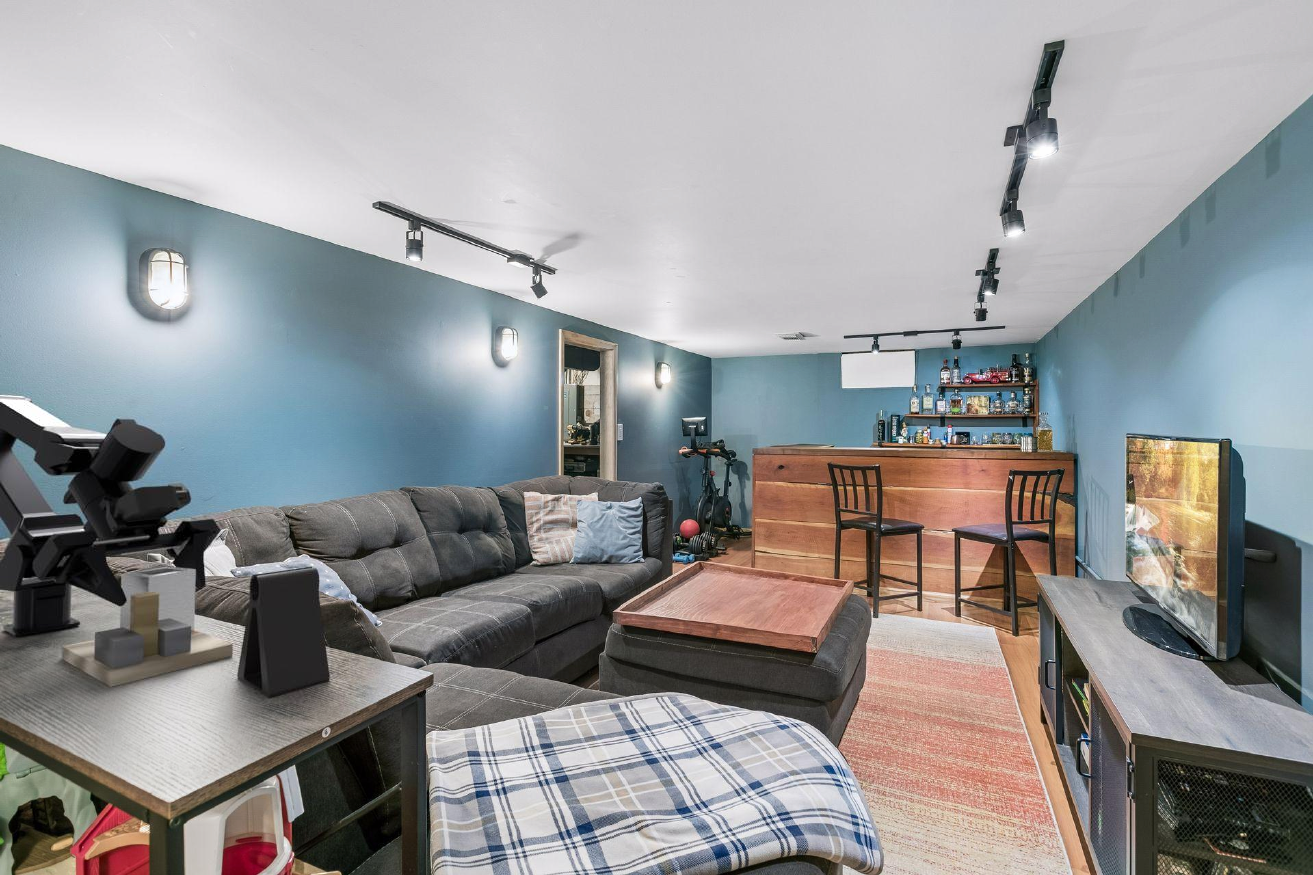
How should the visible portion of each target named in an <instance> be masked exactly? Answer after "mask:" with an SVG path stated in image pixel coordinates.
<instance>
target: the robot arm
mask: <svg viewBox="0 0 1313 875" xmlns="http://www.w3.org/2000/svg"><path fill="white" fill-rule="evenodd" d="M17 440H18V441H20V442H21V443H23V444H25V445H26V446H28V447H30V448H31V449H33V450H34V451H35V453H34V458H33V462H35V463H36V464H37V465H38V466H39V467H40V468H41V469H42V470H43V471H44V472H45V473H46V474H47V475H48V476H51V477H56V476H57V477H58V476H63V477H64V476H73V478H72V479H71V481H70V482H69V484H68V485H67V487H68V490H66V492H65V493H64V495H63V498H62V502H63V504H64V505H74V504H77V505H78V507H79V508H80V510H81V512H82V514H83V516H84V518H85V520H86V523H84V520H82V518H81V516H79V514H77V513H74V512H73V513H62V514H56V513H55V512H54V510H53V509H52V507H51V506H50V504H49V503H48V502H47V500H46V499H45V497H44V496H43V494H42V493H41V490H40V489H39V488H38V487H37V485H36V484H35V483H34V481H33V479H32V478H31V476H30V475H29V474H28V472H27V471H26V469H25V467H24V466H23V464H22V463H21V461H20V460H19V459H18V458H17V456H16V455H15V452H14V451H13V448H14V445H15V443H16V441H17ZM165 446H166V441H165V439H164V437H163V436H162V435H161V434H160V433H159V434H158V433H157V431H154V430H153V429H151V428H149V427H146V426H143V425H141V424H138V423H137V422H136V421H135V419H134V418H133V419H131V418H116V419H115V420H114V422H113V424H112V425H111V428H110V429H109V431H108V432H107V434H106V433H103V432H99V431H95V430H90V429H84V428H83V429H82V428H76V427H74V426H71V425H69V424H67V423H66V422H64V421H63V420H61V419H59V418H57V417H56V416H55V415H52V414H50V413H49V412H47V411H46V410H44V409H42V408H40V407H39V406H38V405H35V404H34V403H33V401H32V400H31V399H30V398H29V397H25V396H23V395H14V394H1V393H0V519H1V520H2V522H3V524H4V525H5V527H6V528H7V530H8V531H9V533H10V537H9V539H8V542H7V543H6V544H7V545H6V546H5V549H4V552H3V554H4V555H3V557H2V559H1V560H0V591H6V592H7V591H8V592H13V604H12V605H13V607H12V608H13V610H12V624H6V625H3V628H2V629H3V630H4V631H5V632H7V633H9V634H10V635H13V636H14V637H23V636H28V635H32V634H38V633H43V632H44V633H45V632H49V631H54V630H60V629H66V628H71V627H77V626H78V627H79V626H80V625H81V621H79V620H77V619H75V618H73V617H72V616H71V615H72V614H71V613H72V588H73V587H75V588H77V589H81V590H82V591H83V590H84V591H86V592H88V593H90V594H93V595H95V596H97V597H99V598H101V599H104V600H105V601H107V602H109V603H111V604H114V605H115V606H118V607H121V606H123V605H124V604H125V603H126V602H127V599H126V596H125V594H124V591H123V589H122V587H121V583H119V581H118V579H117V577H116V575H115V574H114V572H113V571H112V569H111V568H110V566H109V564H108V562H107V560H108V559H107V557H109V556H110V557H112V556H118V555H120V556H127V555H133V554H140V553H148V552H155V551H163V550H166V552H167V554H168V555H169V557H170V558H173V561H172V563H171V564H172V565H173V566H174V567H180V568H189V569H196V579H195V589H197V590H198V591H200V590H201V591H202V590H203V589H204V588H205V586H206V571H205V558H204V556H205V552H206V551H207V549H208V548H209V547H210V546H211V544H212V543H213V541H214V540H215V539H216V538H217V537H218V535H219V534H220V532H221V531H222V530H221V528H220V526H219V524H217V522H216V520H215V519H214V518H199V519H189V520H181V522H180V524H179V525H178V526H177V528H176V529H175V530H174V532H166V533H160V531H159V529H160V528H164V527H165V526H166V524H167V523H168V521H169V520H168V519H167V516H168V515H170V514H172V513H173V512H175V511H180V510H181V509H182V508H184V507H186V506H188V505H189V504H190V503H191V502H192V497H191V494H190V491H189V489H188V488H187V487H186V486H185V485H184V484H183V482H181V483H180V482H179V483H169V484H168V485H156V486H155V485H154V486H152V485H151V486H141V487H137V488H133V487H132V485H131V484H130V482H131V483H132V482H135V481H139V480H141V479H142V478H143V477H144V476H145V475H146V473H147V472H148V471H149V469H150V468H151V466H152V465H153V464H154V462H155V461H156V460H157V459H158V457H159V455H160V454H161V452H162V451H163V450H164V448H165Z"/></svg>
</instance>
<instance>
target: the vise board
mask: <svg viewBox="0 0 1313 875" xmlns="http://www.w3.org/2000/svg"><path fill="white" fill-rule="evenodd" d="M158 618H159V594H158V593H154V592H147V593H141V594H135V595H131V602H130V630H129V629H126V628H124V627H121V628H120V627H117V628H112V629H108V630H102V631H96V632H94V639H92V640H87V641H83V642H77V643H72V644H68V645H62V647H61V648H62V649H61V659H62V660H63V661H65V662H67V663H69V664H70V665H72V666H73V667H75V668H77V669H79V670H81V671H82V672H84V673H86V674H87V675H89V676H90V677H92V678H95V679H96V680H98V681H99V682H101V683H104V685H106V686H108V687H110V688H112V687H116V686H121V685H125V684H129V683H132V682H137V681H139V680H144V679H149V678H152V677H155V676H160V675H164V674H167V673H171V672H175V671H179V670H183V669H187V668H191V667H195V666H200V665H203V664H207V663H212V662H215V661H218V660H222V659H227V658H231V657H233V652H234V651H233V650H234V648H233V646H234V644H233V643H232V642H229V641H226V640H224V639H220V638H218V637H215V636H213V635H209V634H207V633H205V632H202V631H199V630H196V629H194V631H191V626H190V625H187V624H184V623H182V622H179V621H176V620H173V619H171V618H168V619H163V620H158Z"/></svg>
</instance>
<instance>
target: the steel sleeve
mask: <svg viewBox="0 0 1313 875" xmlns="http://www.w3.org/2000/svg"><path fill="white" fill-rule="evenodd" d="M195 579H196V569H189V568H180V567H175V566H170V565H169V566H164V567H163V566H162V567H157V568H156V567H155V568H150V569H143V570H138V571H132V572H130V571H129V572H125V573H121V580H120V586H121V587H122V589H123V591H124V594H125V596H126V599H127V602H126V603H125V604H124V605H123V606H120V614H119V616H120V617H119V618H120V619H119V620H120V621H119V628H121V627H124V628H126V629H129V630H130V602H131V595H135V594H141V593H147V592H154V593H158V594H159V618H158V620H163V619H168V618H171V619H173V620H176V621H179V622H182V623H184V624H187V625H190V626H191V631H194V630H195V617H196V612H195V611H196V587H195Z"/></svg>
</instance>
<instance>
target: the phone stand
mask: <svg viewBox="0 0 1313 875" xmlns="http://www.w3.org/2000/svg"><path fill="white" fill-rule="evenodd" d="M319 574H320V573H319V571H318V569H317V567H313V566H306V567H300V568H292V569H287V570H284V569H283V570H278V571H271V572H264V573H257V574H252V575H251V577H250V581H249V601H248V607H247V608H248V609H247V615H246V622H245V627H244V632H243V638H242V645H241V651H240V657H239V663H238V666H237V677H236V678H237V679H238V680H240V681H241V682H243V683H244V684H246V685H247V686H249V687H251V688H252V689H254V690H255V691H257V692H258V693H259V694H262V695H263V696H264V697H266V698H268V699H270V698H274V697H277V696H280V695H284V694H287V693H290V692H294V691H298V690H301V689H304V688H308V687H311V686H315V685H318V684H322V683H325V682H328V681H329V682H330V680H331V676H330V669H329V668H330V667H329V663H328V654H327V647H326V639H325V631H324V623H323V615H322V609H321V600H320V575H319Z"/></svg>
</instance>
